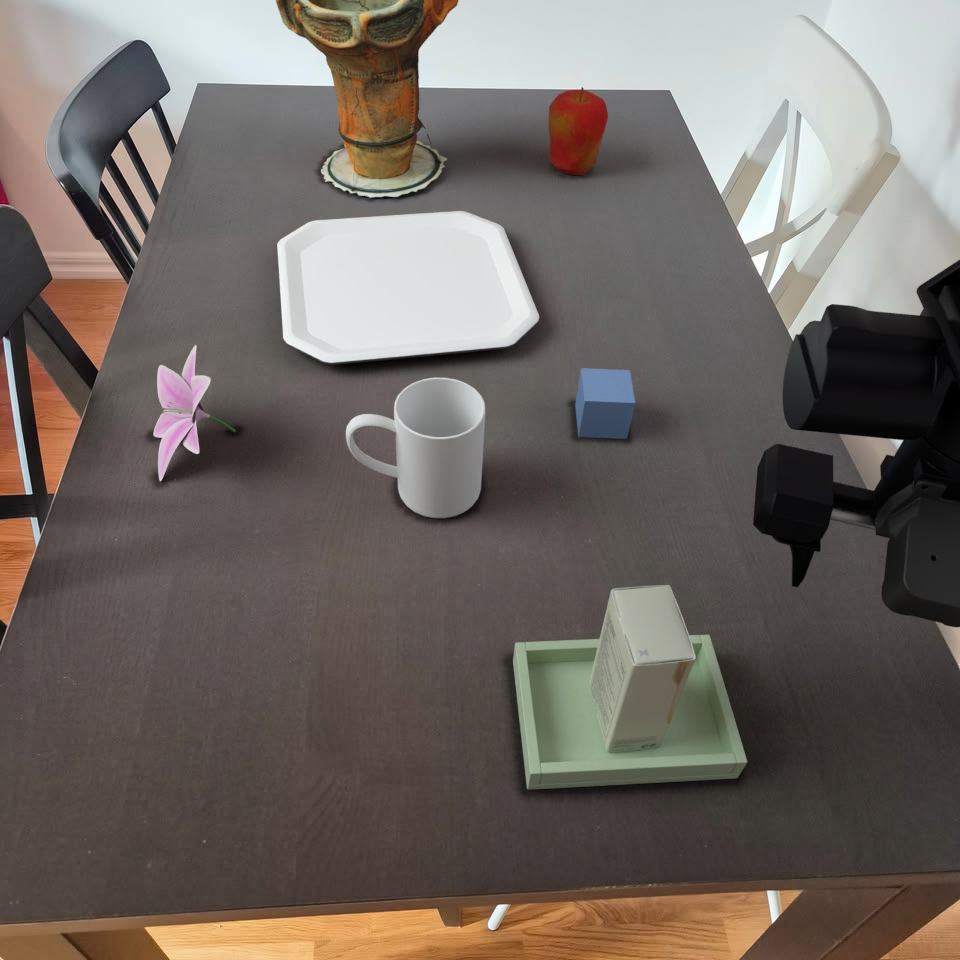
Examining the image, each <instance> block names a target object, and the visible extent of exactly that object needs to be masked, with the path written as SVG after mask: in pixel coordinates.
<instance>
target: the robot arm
mask: <svg viewBox="0 0 960 960" xmlns="http://www.w3.org/2000/svg"><path fill="white" fill-rule="evenodd" d="M915 293H916V295H917V297H918V299H919V302H920V304H921V306H922V310H921V312H920V313H919V314H909V313H896V312H887V311H886V312H885V311H877V310H875V311H874V310H868V309H865V308H862V307H859V306H855V305H849V304H848V305H847V304H837V303H831V304H829V305H827V306H826V307H825V309H824V312H823V314H822V316H821V318H820V320H811V321H809V322H808V323H807V324H806V325H805V326H804V327H803V329H802V330H801V332H800V333H796V334H795V335H794V338H793V340H792V342H791V344H790V348H789V350H788V354H787V358H786V363H785V367H784V368H785V369H784V373H783V381H782V408H783V409H782V410H783V417H784V420H785V421H786V424H787V426H788V427H789V428H790V430H794V431H804V432H814V433H823V434H836V435H845V436H855V437H864V438H876V439H887V440H896V441H898V440H899V441H901V443H900V444H899V447H898V448H897V450H896V451H895V453H894V455H891V454H885V456H884V458H883V460H882V461H881V463H880V465H879V471H880V479H879V481H878V483H877V484H876V486H875V488H874V490H873V489H868V488H864V487H860V486H855V485H851V484H847V483H843V482H842V483H841V482H837V481H834V455H832V454H828V453H823V452H819V451H814V450H809V449H804V448H800V447H795V446H791V445H786V444H782V443H775V444H773V445H771V446H770V447H768V448H766V449H765V450H764V452H763V453H762V455H761V458H760V460H759V463H758V465H757V468H756V480H755V481H756V482H755V494H754V508H753V517H752V519H753V520H752V525H753V527H754V528H755V529H756V530H757V531H759V532H760V533H761V534H763V535H766V536H771V538H772V539H773V540H774V541H775V542H777V543H779V544H782V545H787V546H789V549H790V552H791V587H793V588H799V587H800V585H801V584H802V583H803V581H804V580H805V577H806V575H807V572H808V570H809V567H810V565H811V562H812V559H813V557H814V555H815V552H817V553H820V552H821V550H822V547H821V545H822V544H821V543H822V539H824V537H825V535H826V532H827V531H828V529H829V527H830V522H831V521H835V522H839V523H844V524H848V525H853V526H856V527H860V528H865V529H868V530H872V531H873V530H874V531H875V535H876V536H878V537H883V538H887V539H888V541H887V546H886V555H885V566H884V575H883V582H882V585H881V600H882V602H883V604H884V605H885V607H886V608H887V609H888V610H889V611H891V612H893V613H895V614H898V615H902V616H910V617H915V618H920V619H923V620H927V621H931V622H935V623H938V624H939V623H940V624H942V625H944V626H946V627H951V628H960V259H958V260H957V261H955V262H953V263H952V264H950V265H949V266H947V267H946V268H945V269H943V270H941V271H939V272H938V273H937V274H935V275H933V276H932V277H930V278H929V279H927V280H926V281H924V282H923V283H922V284H920V285H919V286H917V288H916V292H915Z"/></svg>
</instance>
